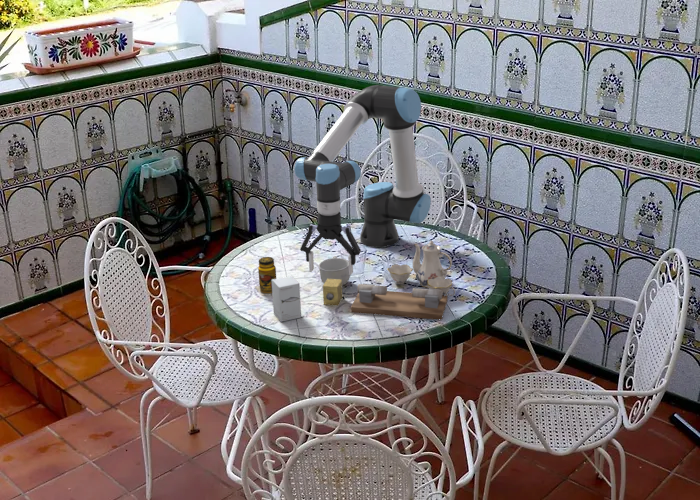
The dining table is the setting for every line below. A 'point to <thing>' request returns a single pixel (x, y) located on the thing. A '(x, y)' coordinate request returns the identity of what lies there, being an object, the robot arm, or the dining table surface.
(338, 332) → the dining table surface
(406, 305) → the rig
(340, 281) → the block
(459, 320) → the dining table surface
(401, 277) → the chinaware
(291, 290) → the supplement box
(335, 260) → the teacup
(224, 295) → the dining table surface
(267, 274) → the condiment
